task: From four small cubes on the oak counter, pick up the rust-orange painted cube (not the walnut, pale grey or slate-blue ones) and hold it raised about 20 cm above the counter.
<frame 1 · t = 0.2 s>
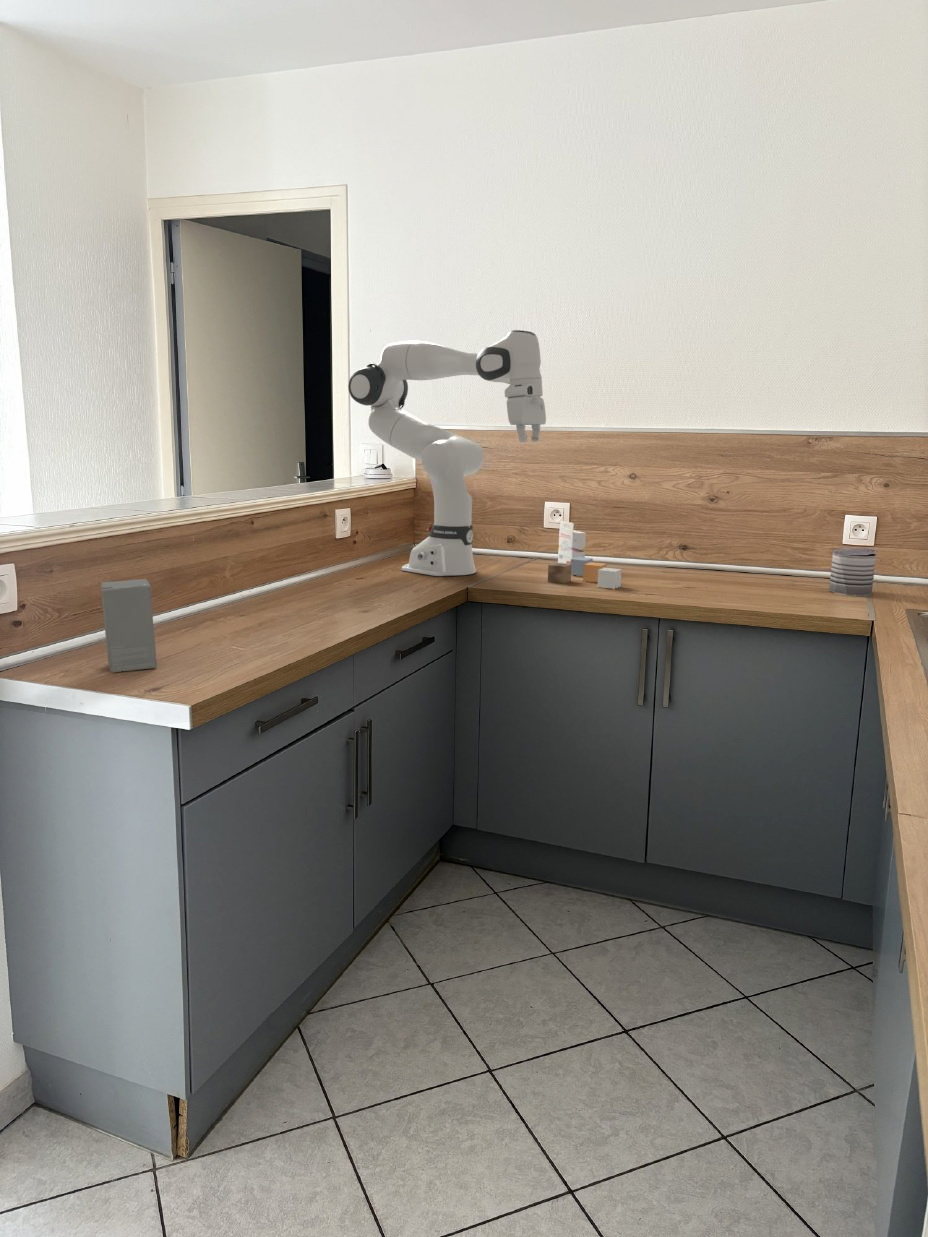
hand: (529, 441, 260), 39 cm above the counter, tool pointing down, fingers open, 8 cm apart
can: (850, 593, 260), on the counter
walnut cube: (559, 581, 268), on the counter
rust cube: (594, 581, 270), on the counter
slate cube: (581, 575, 279), on the counter
ink cartridge box: (570, 569, 290), on the counter
grey cube: (608, 587, 261), on the counter
skincare box: (131, 668, 171), on the counter
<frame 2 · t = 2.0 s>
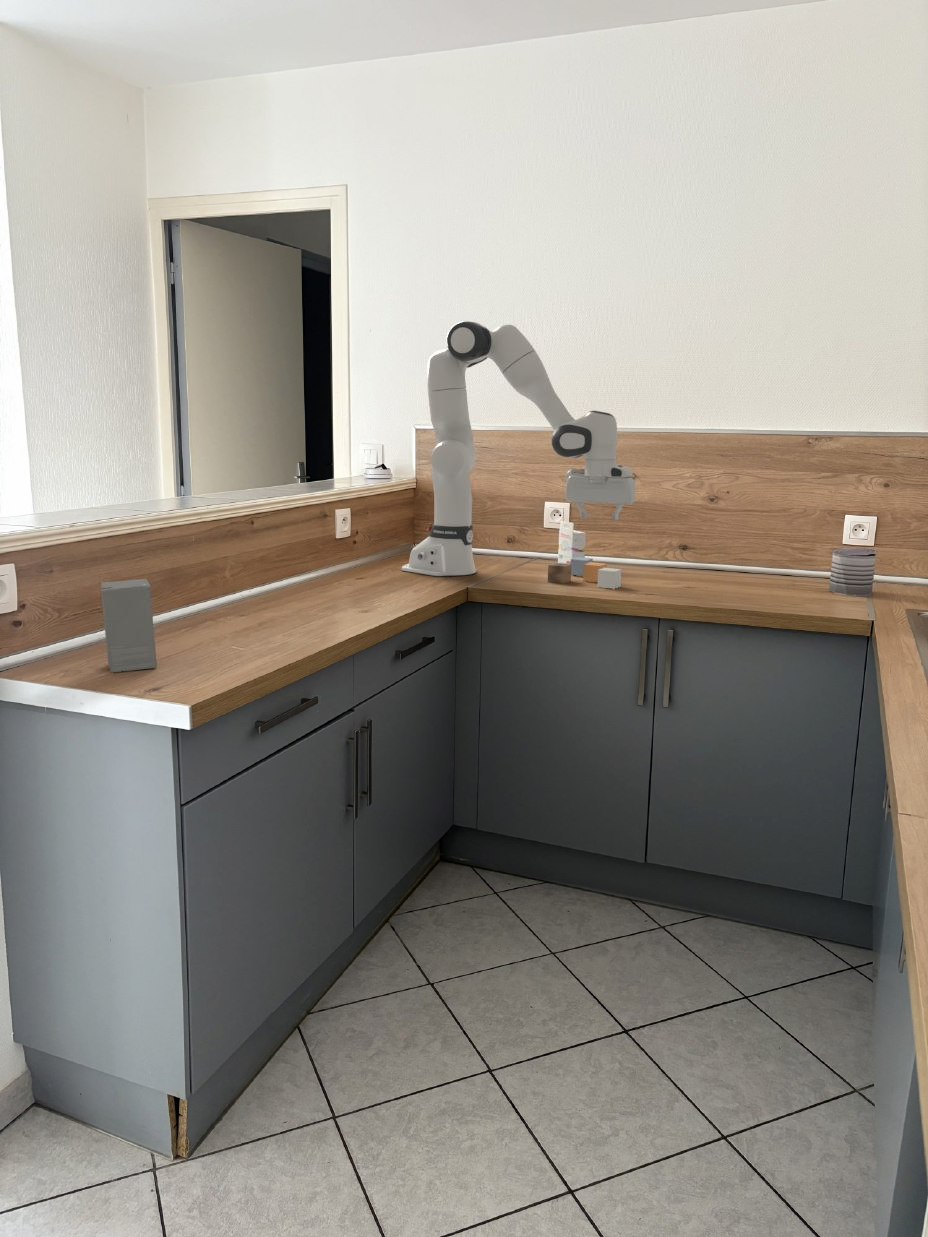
hand: (599, 518, 267), 18 cm above the counter, tool pointing down, fingers open, 8 cm apart
nothing on the counter moved.
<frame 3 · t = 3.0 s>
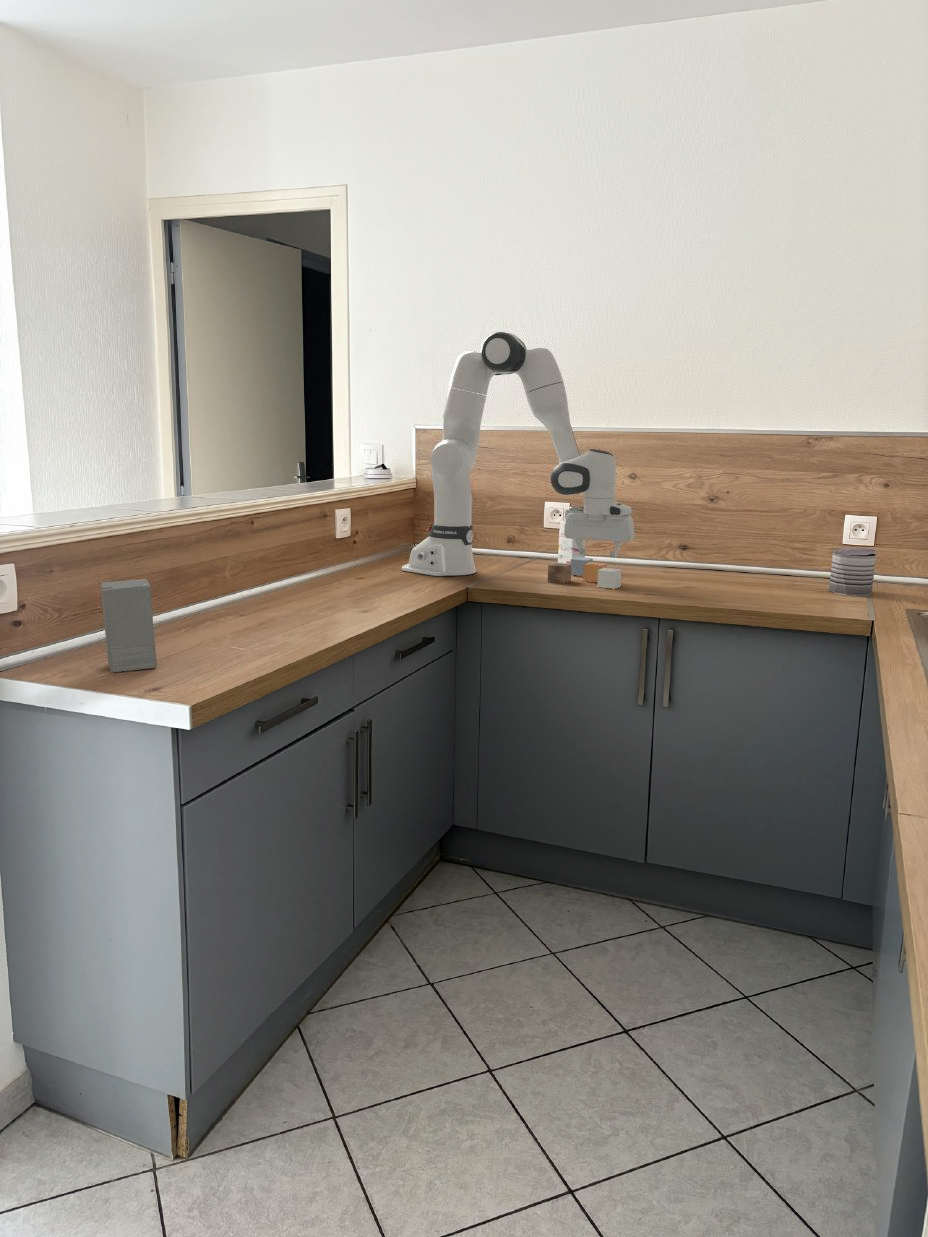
hand: (597, 555, 268), 7 cm above the counter, tool pointing down, fingers open, 8 cm apart
nothing on the counter moved.
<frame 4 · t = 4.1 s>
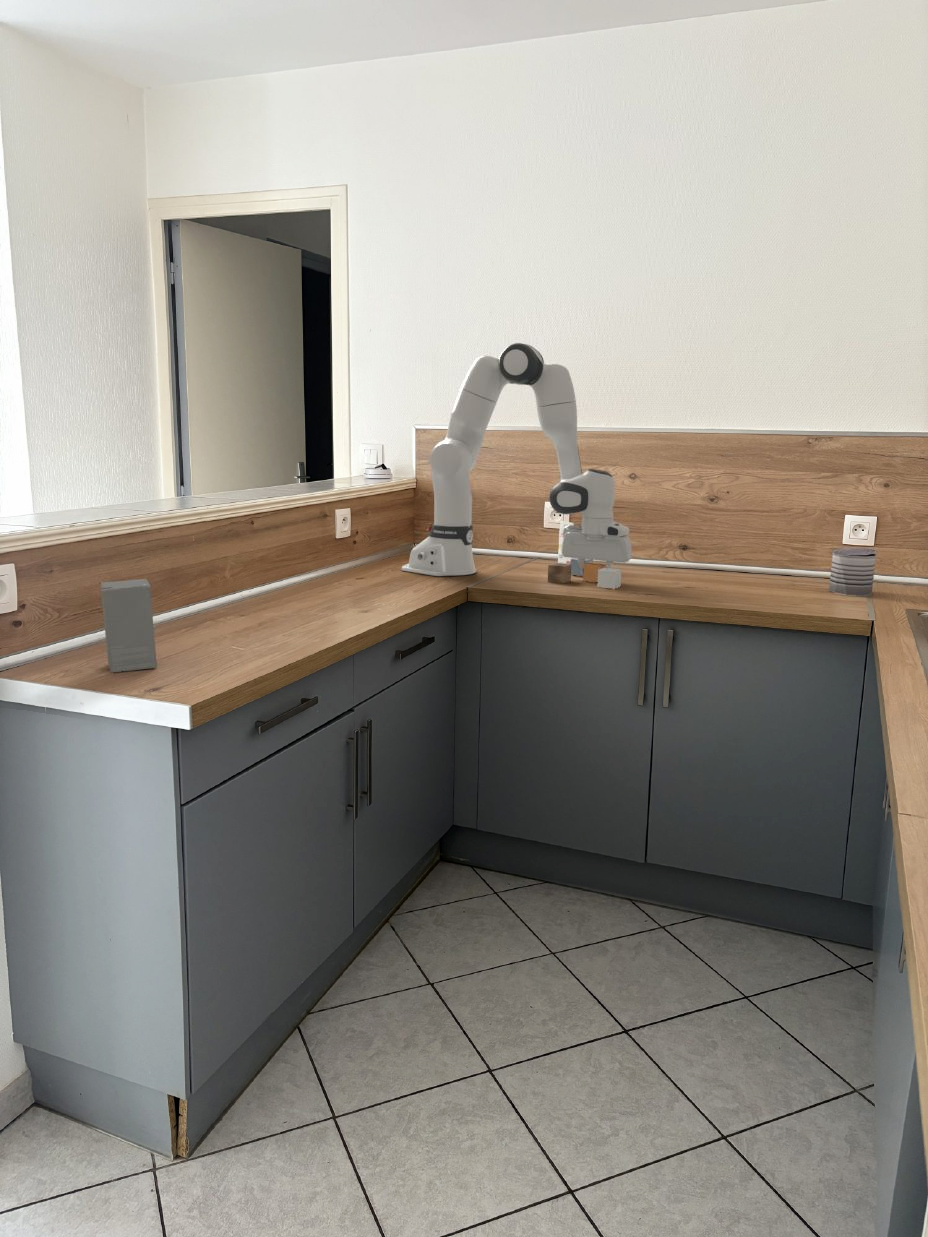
hand: (594, 575, 270), 2 cm above the counter, tool pointing down, fingers closed on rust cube, 5 cm apart
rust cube: (594, 580, 270), on the counter, touching gripper
everything else where it was.
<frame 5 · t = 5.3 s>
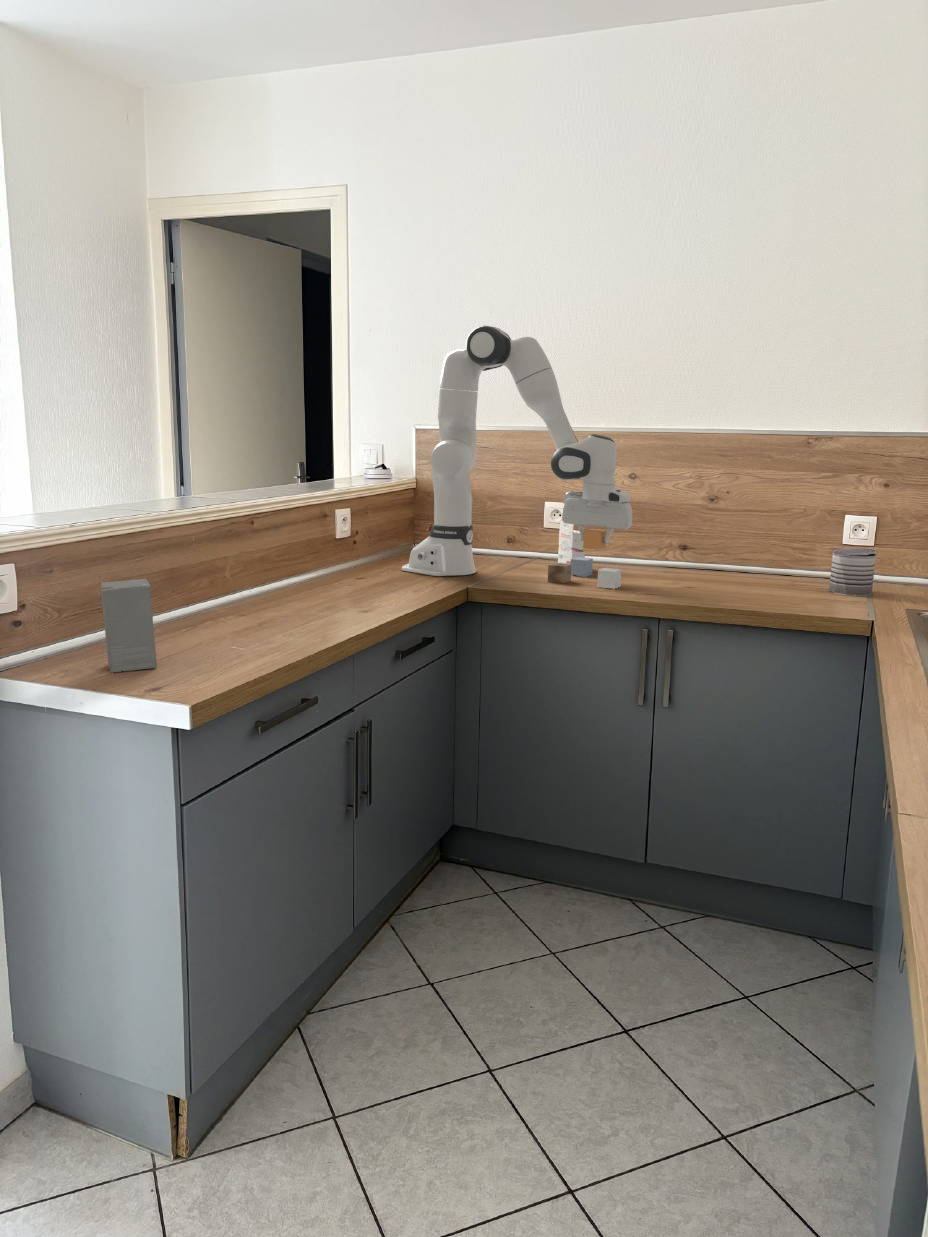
hand: (594, 542, 268), 11 cm above the counter, tool pointing down, fingers closed on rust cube, 5 cm apart
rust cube: (594, 547, 268), point 10 cm above the counter, touching gripper
everything else where it was.
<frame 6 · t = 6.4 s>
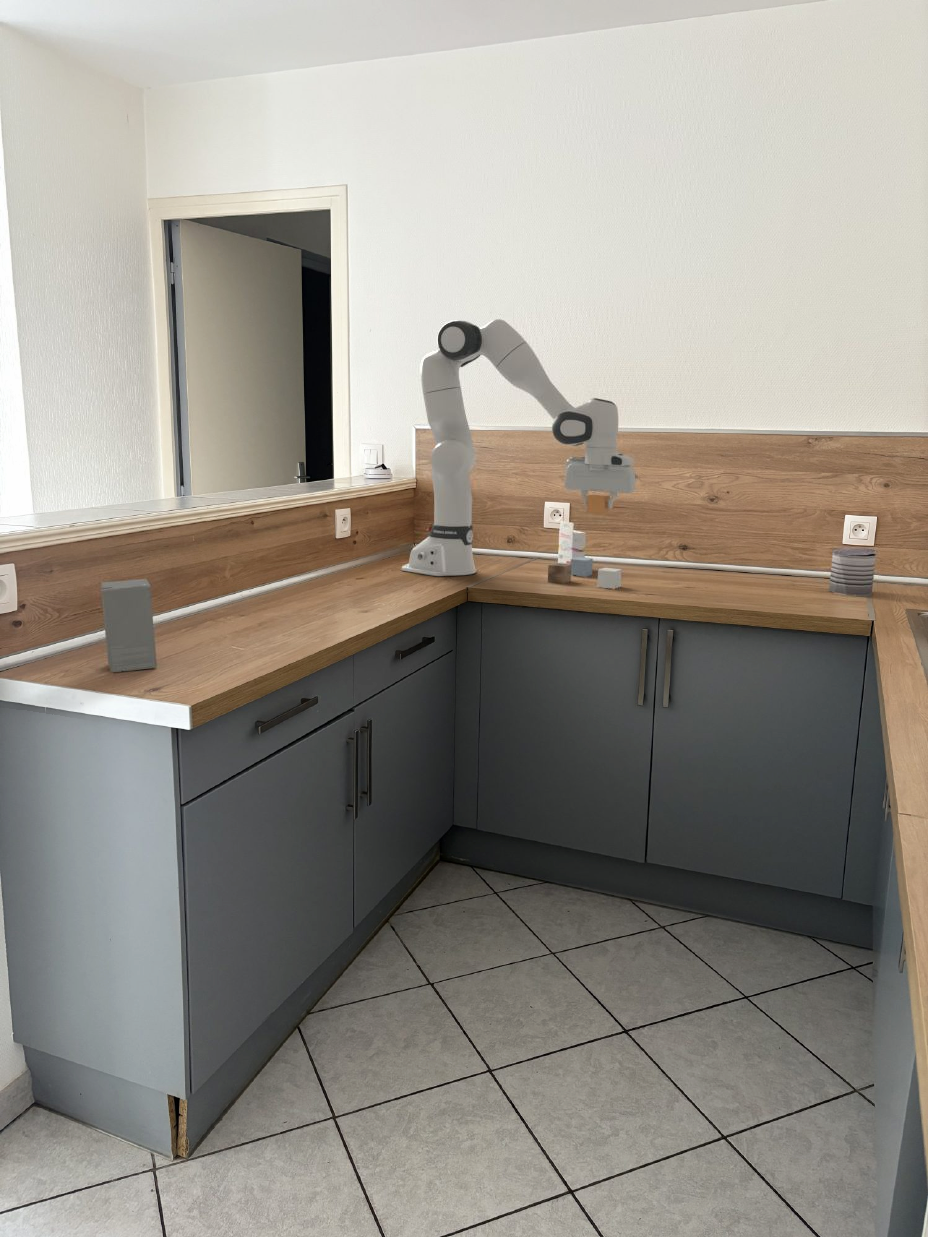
hand: (598, 507, 265), 21 cm above the counter, tool pointing down, fingers closed on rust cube, 5 cm apart
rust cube: (597, 513, 266), point 19 cm above the counter, touching gripper
everything else where it was.
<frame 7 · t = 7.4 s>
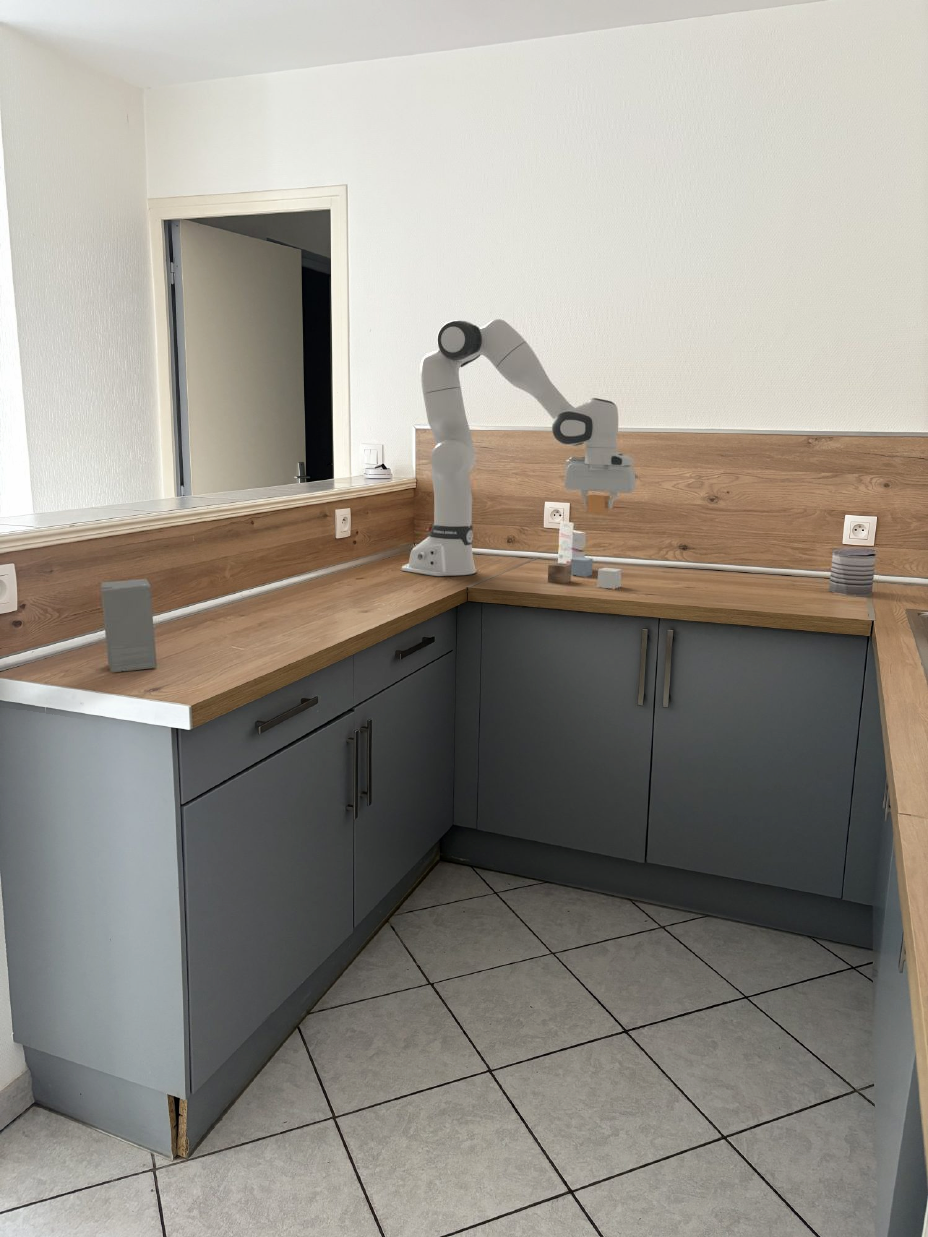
hand: (598, 507, 265), 21 cm above the counter, tool pointing down, fingers closed on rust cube, 5 cm apart
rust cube: (597, 513, 266), point 19 cm above the counter, touching gripper
everything else where it was.
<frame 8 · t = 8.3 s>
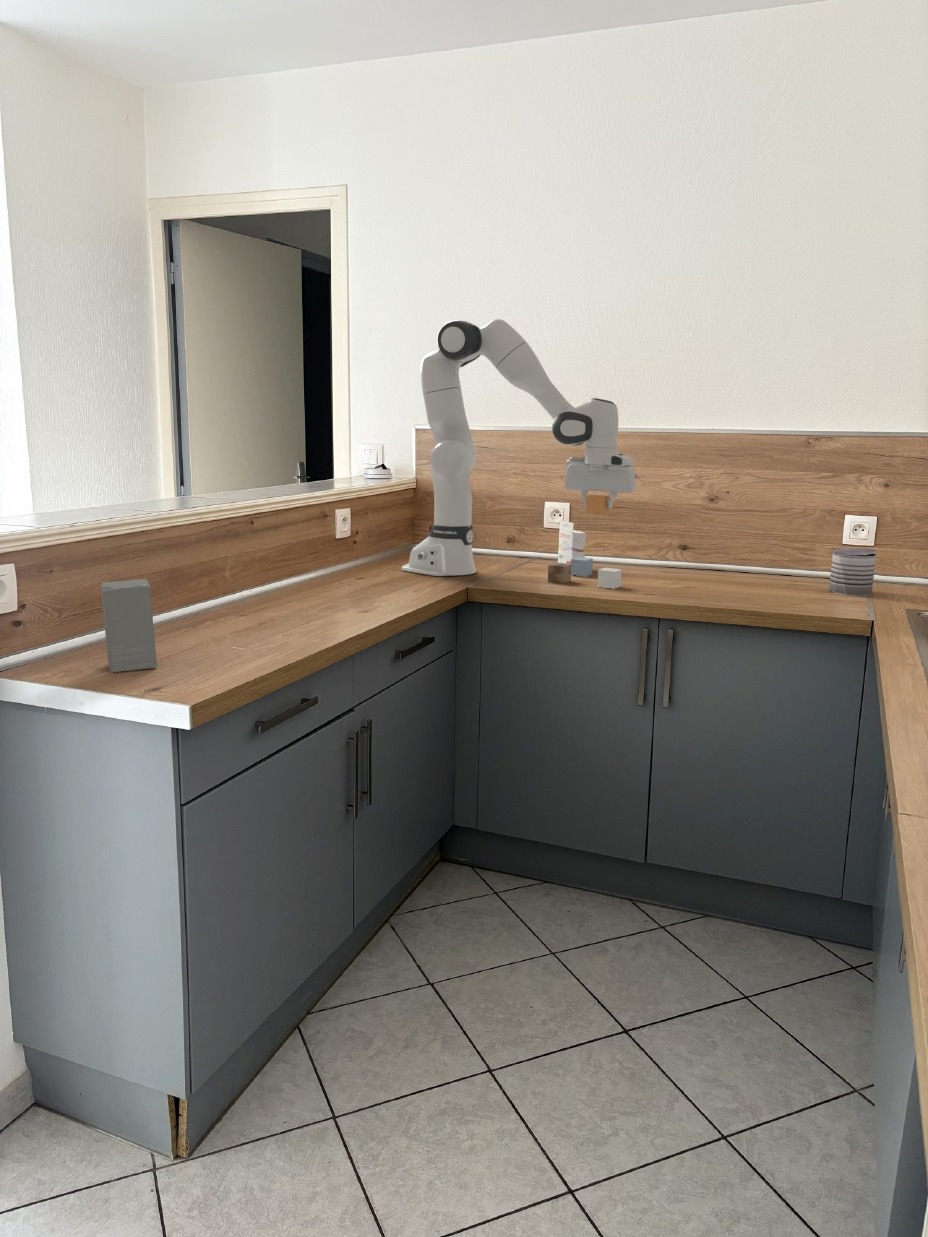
hand: (598, 507, 265), 21 cm above the counter, tool pointing down, fingers closed on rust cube, 5 cm apart
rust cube: (597, 513, 266), point 19 cm above the counter, touching gripper
everything else where it was.
at the end: the gripper is holding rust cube; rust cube point 19.4 cm above the counter; slate cube moved 0.1 cm from its start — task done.
